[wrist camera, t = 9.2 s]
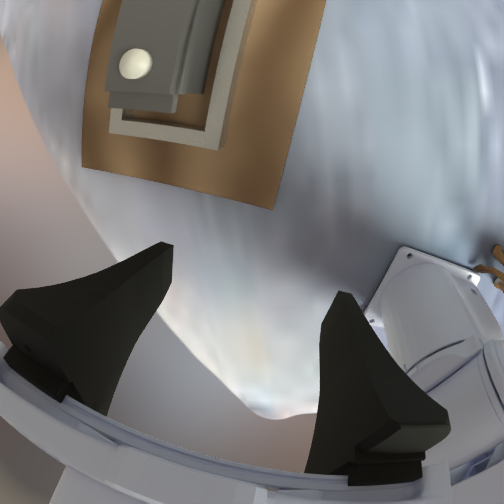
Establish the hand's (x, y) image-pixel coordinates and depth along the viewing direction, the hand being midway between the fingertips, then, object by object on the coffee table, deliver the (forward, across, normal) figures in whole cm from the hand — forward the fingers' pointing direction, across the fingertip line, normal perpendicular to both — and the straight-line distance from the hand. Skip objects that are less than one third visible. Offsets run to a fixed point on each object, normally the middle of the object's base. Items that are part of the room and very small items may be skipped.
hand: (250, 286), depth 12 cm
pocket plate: (+9, +8, -10) cm, 16 cm away
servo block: (+8, +8, -10) cm, 15 cm away
